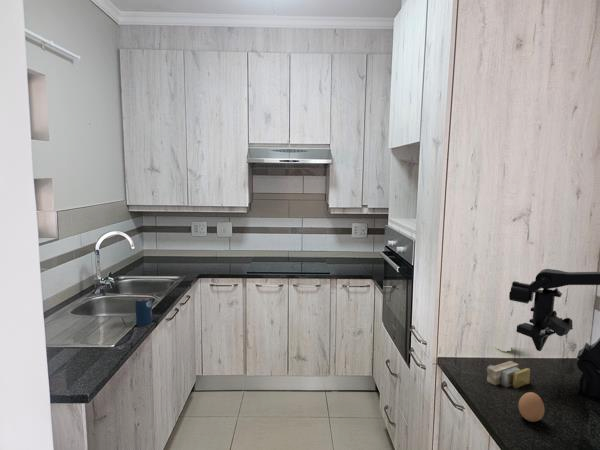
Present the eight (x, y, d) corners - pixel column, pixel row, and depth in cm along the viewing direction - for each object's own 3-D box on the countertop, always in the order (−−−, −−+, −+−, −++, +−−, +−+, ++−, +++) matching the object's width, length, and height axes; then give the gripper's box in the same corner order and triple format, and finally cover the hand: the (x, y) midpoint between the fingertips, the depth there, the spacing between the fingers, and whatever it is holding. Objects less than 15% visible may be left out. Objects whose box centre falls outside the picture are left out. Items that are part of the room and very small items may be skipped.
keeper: (529, 383, 137) (530, 369, 136) (516, 388, 134) (517, 374, 133) (525, 381, 138) (527, 367, 137) (512, 386, 135) (513, 372, 134)
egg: (520, 424, 114) (523, 397, 113) (515, 411, 120) (517, 385, 119) (546, 428, 112) (549, 401, 111) (539, 415, 119) (541, 389, 118)
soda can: (155, 324, 184) (154, 298, 183) (141, 328, 179) (140, 302, 177) (147, 320, 188) (146, 295, 187) (133, 324, 183) (132, 298, 182)
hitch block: (517, 377, 141) (518, 364, 140) (494, 385, 135) (495, 371, 135) (509, 373, 144) (510, 360, 143) (486, 381, 138) (488, 367, 137)
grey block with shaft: (519, 382, 138) (520, 369, 137) (506, 387, 134) (507, 374, 134) (495, 370, 145) (496, 358, 145) (482, 375, 142) (483, 362, 142)
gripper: (551, 318, 125) (546, 366, 127) (584, 310, 134) (579, 354, 136) (517, 307, 135) (513, 352, 137) (550, 300, 144) (546, 342, 146)
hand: (538, 350), depth 139 cm, fingers closed
